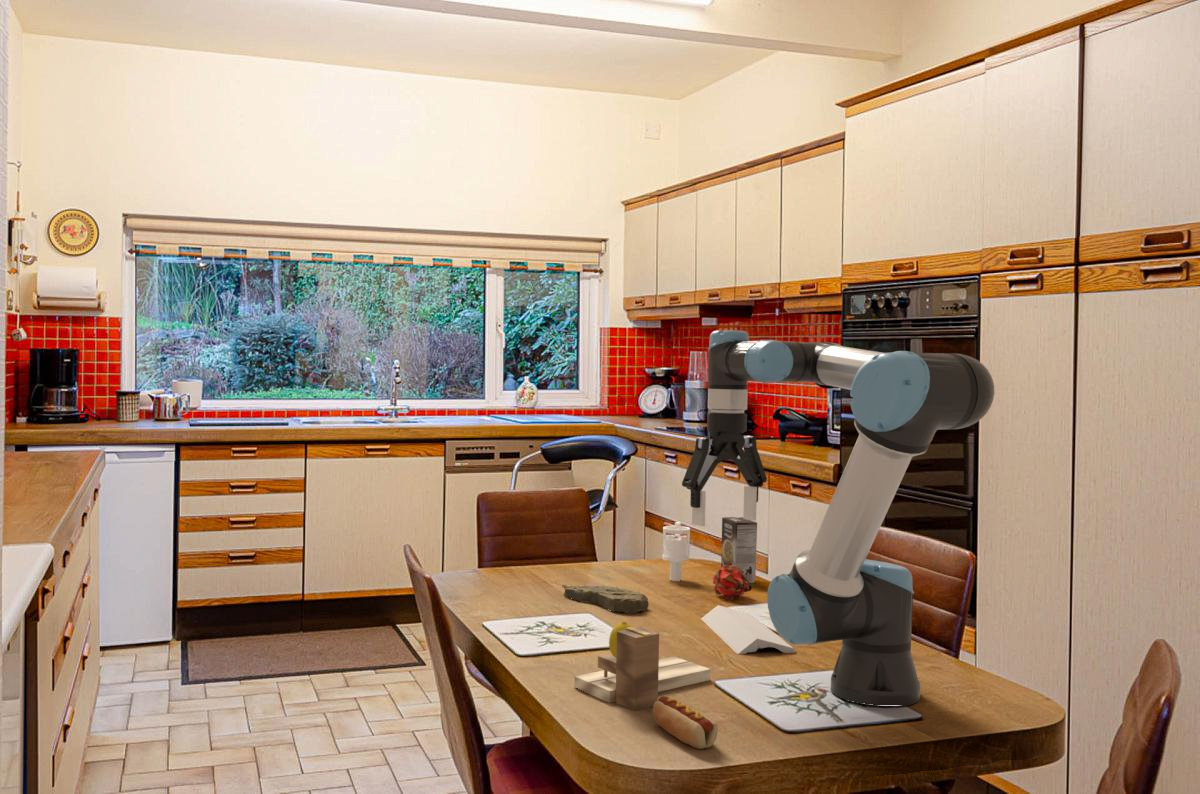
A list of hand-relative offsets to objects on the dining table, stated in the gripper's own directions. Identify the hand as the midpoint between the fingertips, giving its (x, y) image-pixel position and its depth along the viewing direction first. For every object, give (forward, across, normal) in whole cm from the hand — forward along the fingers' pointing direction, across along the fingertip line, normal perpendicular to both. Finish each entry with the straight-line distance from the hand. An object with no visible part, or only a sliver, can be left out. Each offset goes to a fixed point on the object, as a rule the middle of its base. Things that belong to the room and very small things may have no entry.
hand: (724, 522), depth 202 cm
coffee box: (+27, -58, -53) cm, 83 cm away
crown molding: (+28, -18, -12) cm, 35 cm away
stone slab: (+27, -12, -52) cm, 60 cm away
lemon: (+27, +17, -9) cm, 33 cm away
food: (+27, +34, +27) cm, 51 cm away
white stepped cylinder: (+27, -43, -62) cm, 80 cm away
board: (+27, +22, +3) cm, 35 cm away
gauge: (+27, +30, +7) cm, 41 cm away
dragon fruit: (+27, -41, -39) cm, 63 cm away
